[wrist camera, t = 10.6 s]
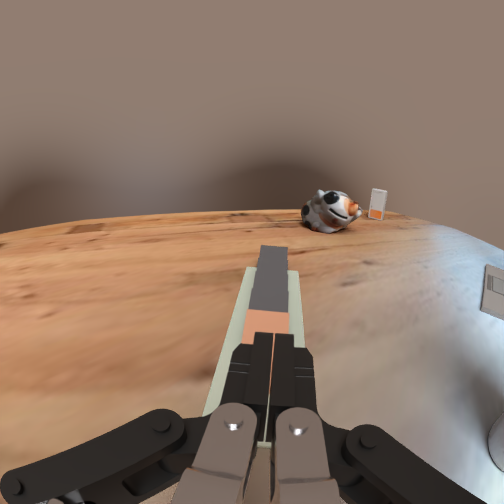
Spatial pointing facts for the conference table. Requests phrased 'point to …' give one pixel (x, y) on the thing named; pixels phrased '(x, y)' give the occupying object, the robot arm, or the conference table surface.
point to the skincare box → (377, 204)
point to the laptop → (493, 292)
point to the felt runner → (236, 334)
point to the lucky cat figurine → (330, 211)
